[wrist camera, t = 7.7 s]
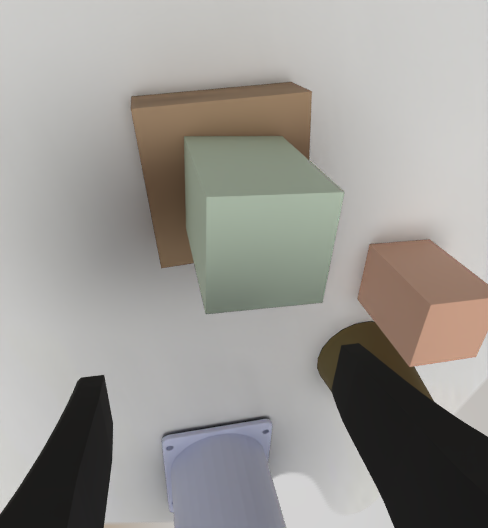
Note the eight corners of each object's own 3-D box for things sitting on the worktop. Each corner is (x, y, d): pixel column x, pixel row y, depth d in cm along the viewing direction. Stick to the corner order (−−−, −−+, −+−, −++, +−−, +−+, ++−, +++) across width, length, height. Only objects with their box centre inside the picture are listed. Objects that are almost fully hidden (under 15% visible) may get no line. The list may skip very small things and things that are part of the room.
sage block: (272, 223, 19) (322, 302, 14) (186, 228, 18) (205, 314, 13) (282, 136, 17) (344, 192, 12) (183, 136, 16) (206, 197, 11)
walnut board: (286, 219, 22) (305, 245, 20) (158, 237, 21) (161, 268, 19) (288, 80, 18) (311, 91, 16) (131, 94, 17) (130, 108, 15)
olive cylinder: (345, 313, 26) (455, 473, 17) (412, 330, 29) (541, 479, 19) (302, 379, 29) (378, 549, 20) (367, 389, 31) (463, 547, 22)
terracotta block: (412, 292, 27) (476, 356, 22) (357, 298, 26) (409, 366, 21) (429, 239, 25) (503, 296, 20) (369, 244, 24) (430, 305, 19)
